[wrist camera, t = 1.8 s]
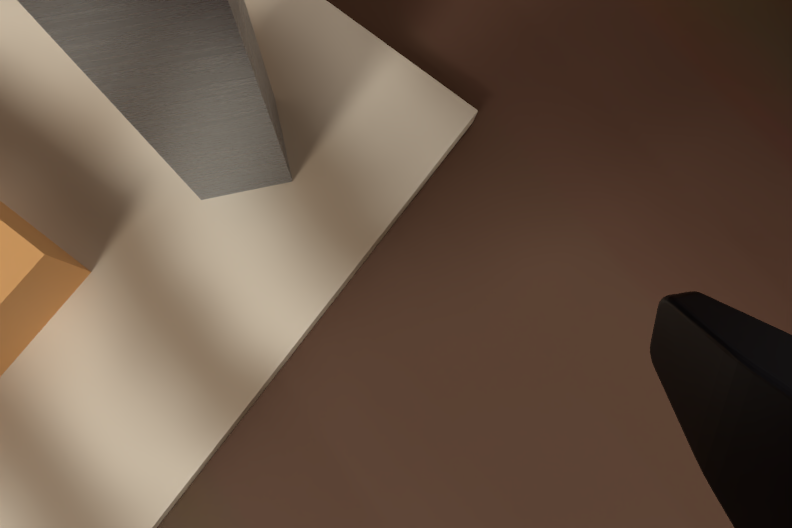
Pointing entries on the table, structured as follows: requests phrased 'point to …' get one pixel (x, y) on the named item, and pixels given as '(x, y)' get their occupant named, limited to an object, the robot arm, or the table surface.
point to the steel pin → (180, 83)
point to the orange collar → (30, 283)
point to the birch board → (189, 257)
